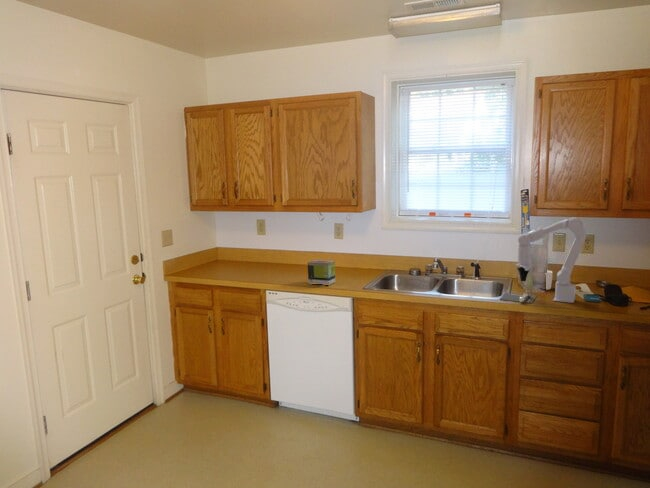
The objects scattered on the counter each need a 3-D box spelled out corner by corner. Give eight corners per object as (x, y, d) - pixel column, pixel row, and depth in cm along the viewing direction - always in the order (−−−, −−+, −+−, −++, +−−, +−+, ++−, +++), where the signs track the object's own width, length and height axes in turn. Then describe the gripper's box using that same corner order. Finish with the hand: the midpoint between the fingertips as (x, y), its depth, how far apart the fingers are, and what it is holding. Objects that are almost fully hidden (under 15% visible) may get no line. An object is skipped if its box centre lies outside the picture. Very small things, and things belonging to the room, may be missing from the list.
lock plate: (536, 296, 260) (536, 295, 260) (531, 303, 247) (531, 302, 247) (505, 293, 268) (506, 292, 268) (499, 299, 256) (499, 298, 256)
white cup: (553, 287, 277) (553, 270, 275) (550, 290, 271) (551, 273, 269) (538, 286, 281) (539, 269, 280) (535, 289, 275) (536, 272, 273)
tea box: (335, 282, 306) (335, 260, 304) (328, 286, 298) (328, 263, 295) (315, 281, 313) (314, 259, 311) (307, 284, 305) (307, 262, 302)
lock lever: (524, 295, 260) (524, 291, 259) (531, 296, 257) (531, 292, 257) (517, 301, 248) (517, 297, 248) (524, 302, 246) (525, 298, 246)
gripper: (512, 254, 264) (512, 277, 266) (519, 259, 250) (519, 284, 252) (525, 253, 263) (525, 277, 265) (533, 258, 249) (533, 284, 251)
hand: (523, 280), depth 259 cm, fingers closed
